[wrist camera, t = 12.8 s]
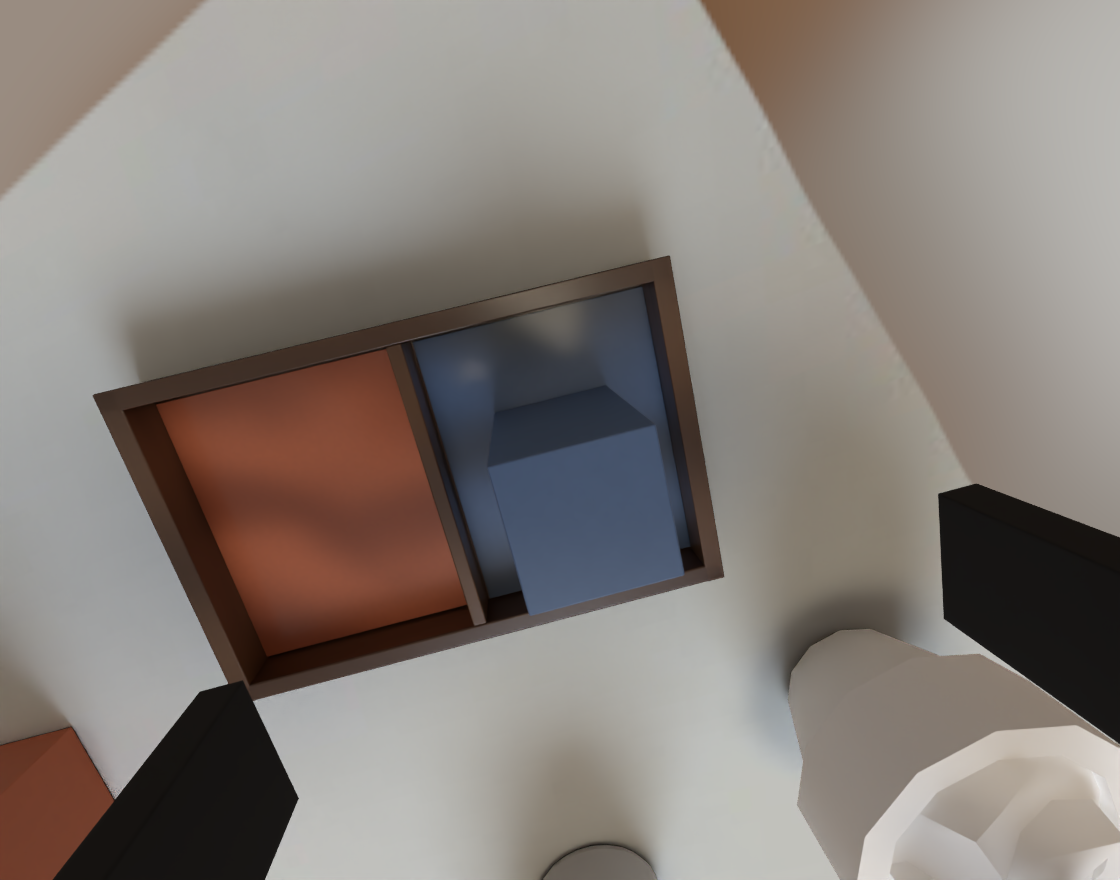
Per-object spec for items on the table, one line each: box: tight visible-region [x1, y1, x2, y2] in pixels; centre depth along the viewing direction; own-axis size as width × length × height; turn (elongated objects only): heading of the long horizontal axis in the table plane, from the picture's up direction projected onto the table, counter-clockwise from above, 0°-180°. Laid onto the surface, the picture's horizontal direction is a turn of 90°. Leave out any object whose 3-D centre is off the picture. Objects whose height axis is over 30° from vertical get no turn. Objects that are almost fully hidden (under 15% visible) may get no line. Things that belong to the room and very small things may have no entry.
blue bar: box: [487, 385, 684, 616], centre depth 20 cm, size 5×5×8 cm
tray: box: [93, 256, 724, 701], centre depth 23 cm, size 14×22×3 cm, turn 103°
